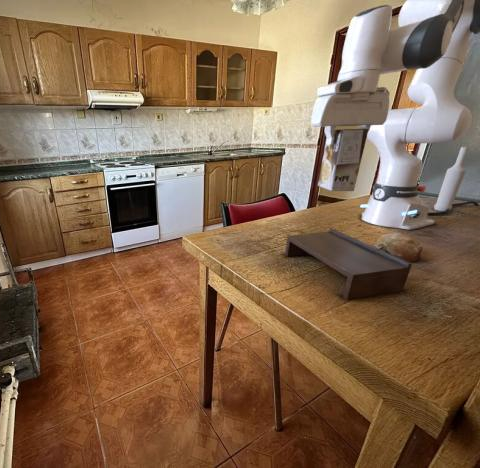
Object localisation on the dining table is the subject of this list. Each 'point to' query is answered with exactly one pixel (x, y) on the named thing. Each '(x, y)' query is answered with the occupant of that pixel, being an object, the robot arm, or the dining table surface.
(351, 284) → the shelf
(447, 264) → the dining table surface
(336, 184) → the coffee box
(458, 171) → the bottle
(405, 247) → the bread roll
